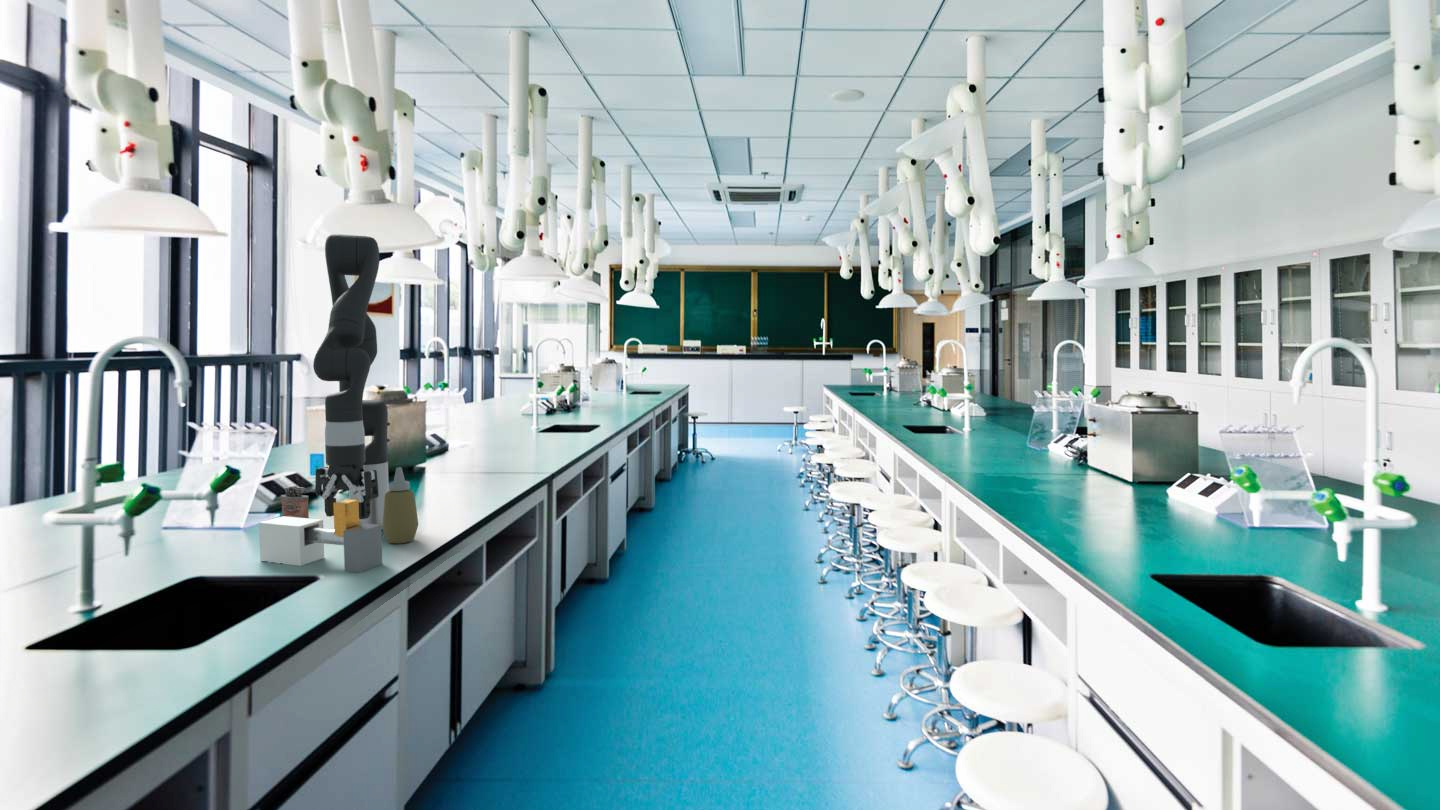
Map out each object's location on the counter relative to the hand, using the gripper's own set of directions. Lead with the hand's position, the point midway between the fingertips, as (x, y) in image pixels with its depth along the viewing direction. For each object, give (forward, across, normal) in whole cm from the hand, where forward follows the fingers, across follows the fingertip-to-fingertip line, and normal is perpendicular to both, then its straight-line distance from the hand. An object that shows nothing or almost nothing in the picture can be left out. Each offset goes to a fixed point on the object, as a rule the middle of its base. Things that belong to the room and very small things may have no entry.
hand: (347, 517), depth 158 cm
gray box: (+11, -4, 0) cm, 11 cm away
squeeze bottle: (+11, +3, -20) cm, 23 cm away
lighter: (+11, +41, -26) cm, 50 cm away
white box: (+11, +15, 0) cm, 19 cm away
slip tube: (+6, +4, 0) cm, 7 cm away
